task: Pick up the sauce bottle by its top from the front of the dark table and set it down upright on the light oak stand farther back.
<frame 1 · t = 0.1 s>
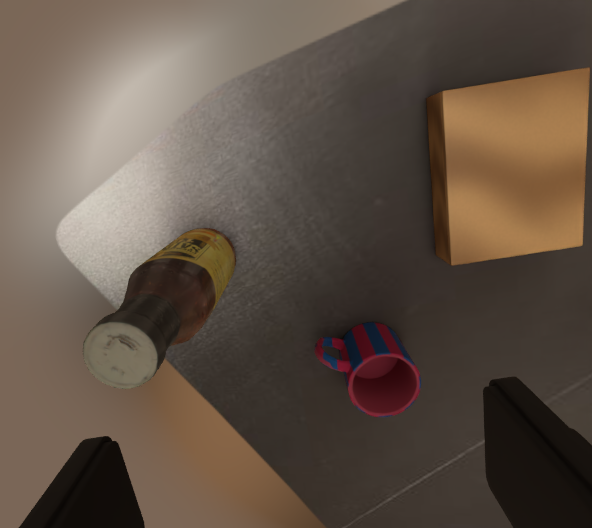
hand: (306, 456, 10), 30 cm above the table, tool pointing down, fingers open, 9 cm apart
mug: (356, 342, 43), on the table
oak stand: (493, 170, 38), on the table
sauce bottle: (205, 256, 40), on the table
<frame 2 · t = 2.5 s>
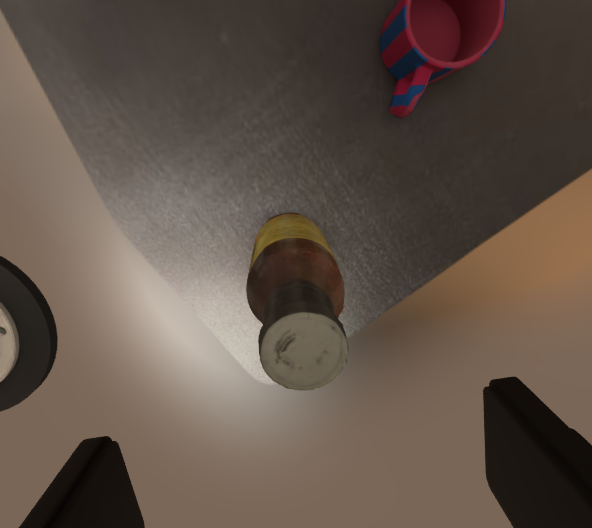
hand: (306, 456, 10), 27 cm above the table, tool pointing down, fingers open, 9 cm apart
mug: (408, 61, 33), on the table
sauce bottle: (290, 245, 37), on the table
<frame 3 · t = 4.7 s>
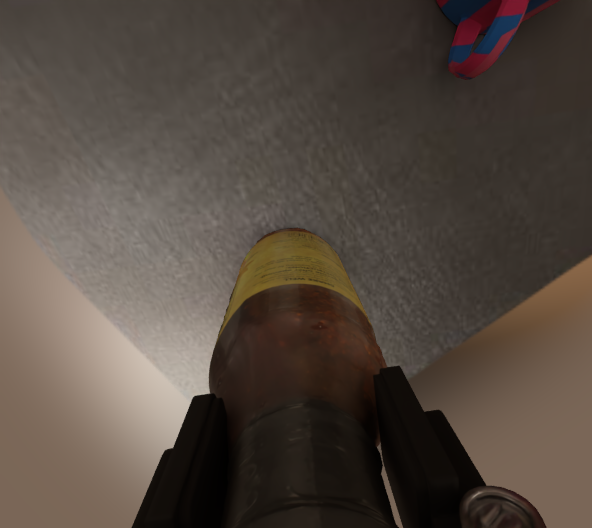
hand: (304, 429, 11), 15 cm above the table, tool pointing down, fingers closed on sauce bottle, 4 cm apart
sauce bottle: (293, 274, 25), on the table, touching gripper
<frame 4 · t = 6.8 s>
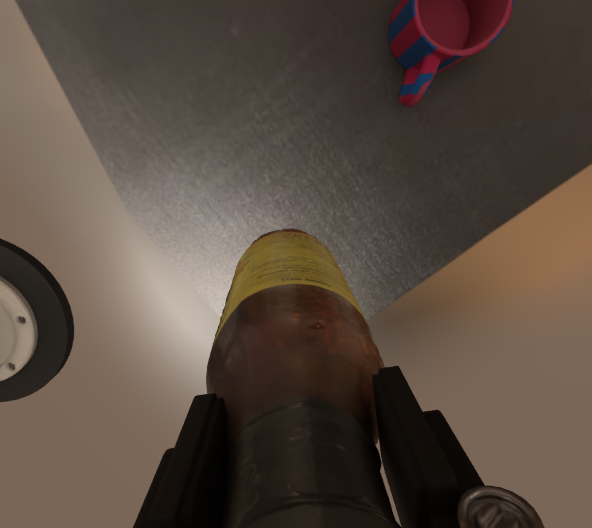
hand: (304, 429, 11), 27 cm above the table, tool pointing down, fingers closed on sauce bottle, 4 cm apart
mug: (417, 50, 33), on the table
sauce bottle: (289, 274, 25), point 12 cm above the table, touching gripper
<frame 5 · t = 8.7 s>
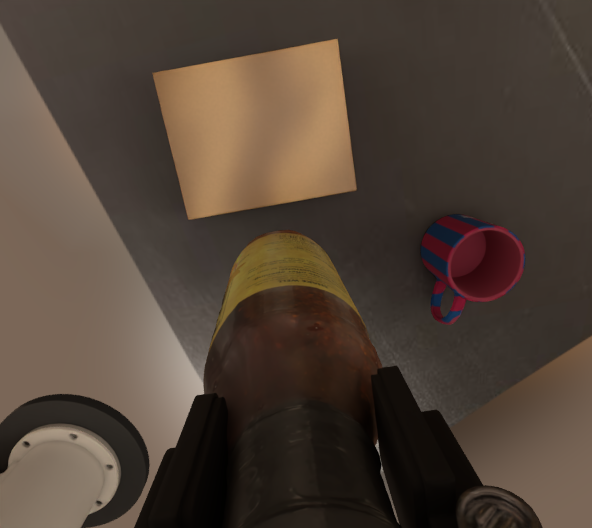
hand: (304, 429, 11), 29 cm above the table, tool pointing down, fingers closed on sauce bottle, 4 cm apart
mug: (443, 260, 40), on the table
oak stand: (261, 136, 37), on the table
sauce bottle: (284, 276, 25), point 14 cm above the table, touching gripper
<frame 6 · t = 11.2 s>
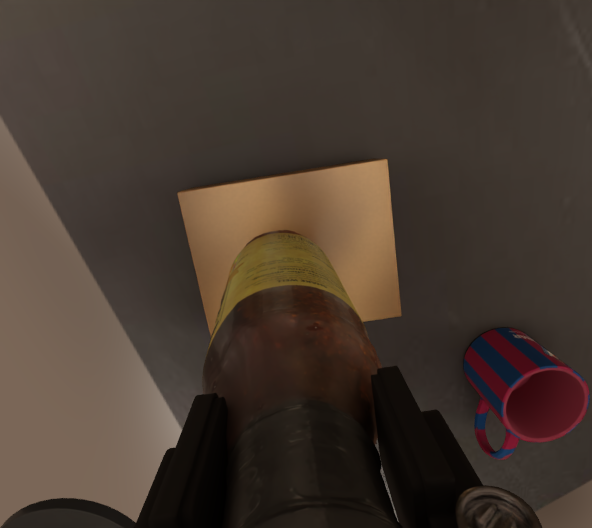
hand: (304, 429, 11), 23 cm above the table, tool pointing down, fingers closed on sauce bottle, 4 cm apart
mug: (487, 373, 37), on the table
oak stand: (293, 245, 33), on the table
sauce bottle: (283, 276, 25), point 8 cm above the table, touching gripper
when the fingers open (19 cm above the table, at t = 12.8 s): sauce bottle stays where it is, resting on oak stand.
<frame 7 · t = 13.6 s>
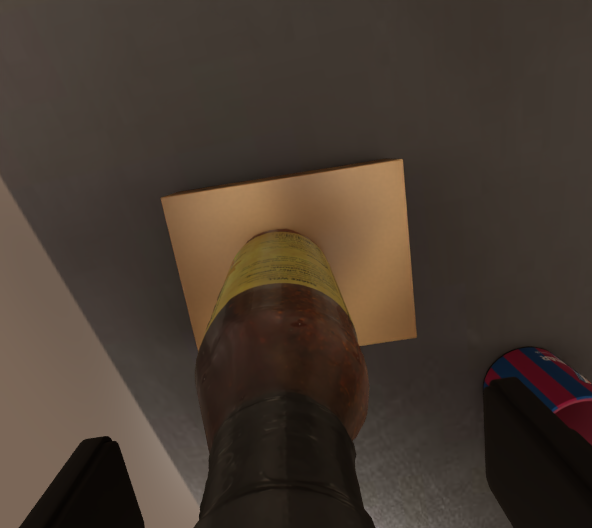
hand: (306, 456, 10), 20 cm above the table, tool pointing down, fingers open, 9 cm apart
mug: (509, 396, 33), on the table
oak stand: (294, 256, 29), on the table
sauce bottle: (282, 273, 26), point 4 cm above the table, touching oak stand
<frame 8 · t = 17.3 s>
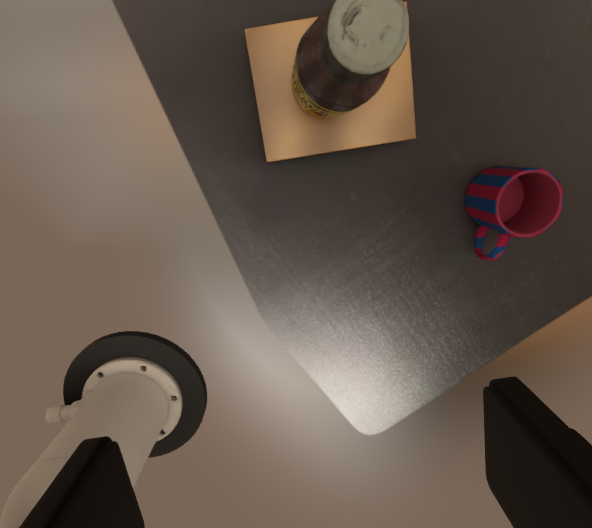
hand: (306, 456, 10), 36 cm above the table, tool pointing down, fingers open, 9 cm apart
mug: (484, 209, 45), on the table
oak stand: (329, 92, 41), on the table
sauce bottle: (324, 88, 38), point 4 cm above the table, touching oak stand
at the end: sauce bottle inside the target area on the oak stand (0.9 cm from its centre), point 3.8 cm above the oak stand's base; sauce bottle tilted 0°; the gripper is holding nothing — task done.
